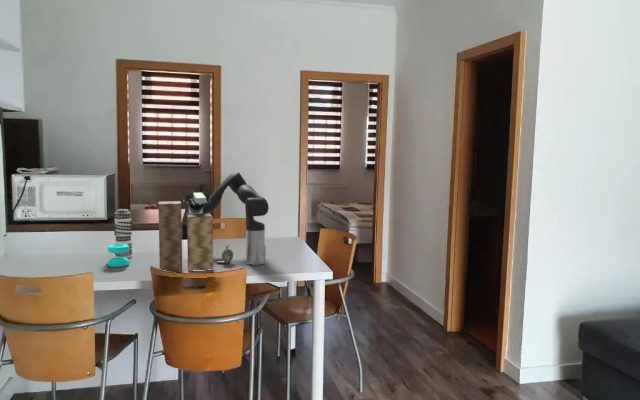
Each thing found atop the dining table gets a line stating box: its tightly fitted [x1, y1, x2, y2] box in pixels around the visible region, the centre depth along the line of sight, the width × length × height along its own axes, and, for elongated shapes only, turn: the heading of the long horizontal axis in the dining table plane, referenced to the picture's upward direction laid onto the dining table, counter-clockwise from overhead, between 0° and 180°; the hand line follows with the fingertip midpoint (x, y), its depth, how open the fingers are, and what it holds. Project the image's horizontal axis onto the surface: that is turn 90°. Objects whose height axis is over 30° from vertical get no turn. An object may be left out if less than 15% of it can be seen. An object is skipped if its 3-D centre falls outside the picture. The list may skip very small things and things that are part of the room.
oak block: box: [186, 213, 214, 272], centre depth 238 cm, size 11×12×26 cm
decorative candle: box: [113, 208, 133, 259], centre depth 261 cm, size 9×9×25 cm
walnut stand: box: [158, 200, 183, 273], centre depth 234 cm, size 10×10×32 cm
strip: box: [193, 192, 206, 203], centre depth 237 cm, size 4×24×2 cm, turn 18°
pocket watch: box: [216, 243, 234, 264], centre depth 250 cm, size 8×8×10 cm
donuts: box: [106, 243, 131, 268], centre depth 242 cm, size 10×10×10 cm
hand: (198, 193), depth 244 cm, fingers closed on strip, 4 cm apart
